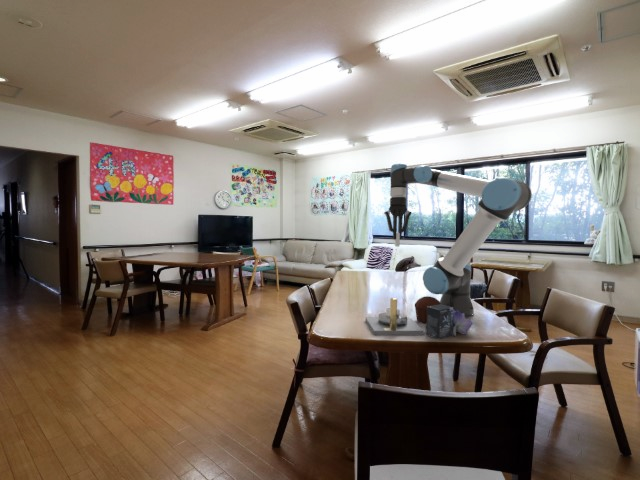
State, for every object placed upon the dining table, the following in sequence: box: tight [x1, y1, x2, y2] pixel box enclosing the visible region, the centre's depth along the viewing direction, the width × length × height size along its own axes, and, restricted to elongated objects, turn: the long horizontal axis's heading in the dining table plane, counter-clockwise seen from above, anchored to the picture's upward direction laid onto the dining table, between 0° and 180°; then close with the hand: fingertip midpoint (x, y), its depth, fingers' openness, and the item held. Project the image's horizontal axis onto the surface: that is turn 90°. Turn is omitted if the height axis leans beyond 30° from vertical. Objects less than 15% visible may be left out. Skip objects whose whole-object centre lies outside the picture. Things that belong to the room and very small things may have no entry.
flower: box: [452, 309, 473, 337], centre depth 120 cm, size 9×9×10 cm
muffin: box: [414, 295, 441, 325], centre depth 135 cm, size 12×11×10 cm
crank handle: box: [377, 297, 408, 330], centre depth 125 cm, size 16×11×11 cm
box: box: [425, 304, 453, 340], centre depth 118 cm, size 8×6×11 cm
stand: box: [365, 316, 424, 336], centre depth 127 cm, size 18×17×2 cm
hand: (397, 246), depth 158 cm, fingers closed
